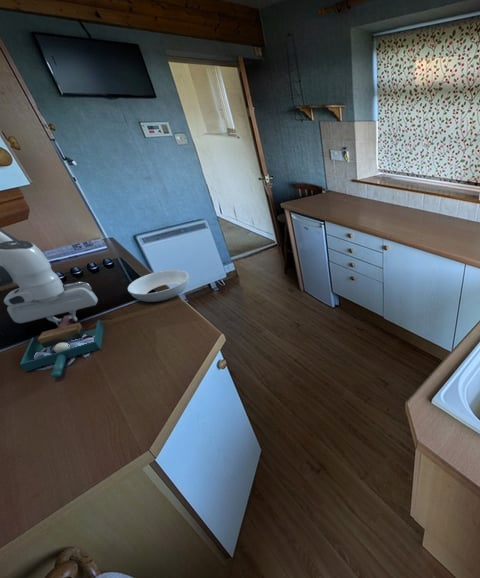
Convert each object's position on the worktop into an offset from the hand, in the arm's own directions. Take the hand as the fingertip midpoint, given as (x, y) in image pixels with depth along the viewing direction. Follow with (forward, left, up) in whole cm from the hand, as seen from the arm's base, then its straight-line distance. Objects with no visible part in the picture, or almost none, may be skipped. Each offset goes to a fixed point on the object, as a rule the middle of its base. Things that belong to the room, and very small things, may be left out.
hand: (67, 322), depth 102 cm
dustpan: (0, -16, -3) cm, 17 cm away
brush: (0, -4, -2) cm, 4 cm away
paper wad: (0, -13, 0) cm, 13 cm away
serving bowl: (+28, +9, -4) cm, 30 cm away
